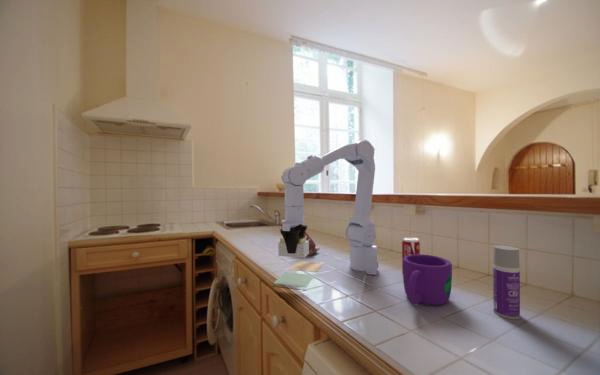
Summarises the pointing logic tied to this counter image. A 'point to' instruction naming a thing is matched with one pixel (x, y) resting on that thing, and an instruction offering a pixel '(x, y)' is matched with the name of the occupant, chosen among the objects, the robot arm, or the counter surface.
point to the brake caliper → (311, 245)
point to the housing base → (300, 252)
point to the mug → (427, 279)
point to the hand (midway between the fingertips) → (294, 250)
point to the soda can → (410, 247)
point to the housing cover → (299, 239)
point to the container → (506, 282)
